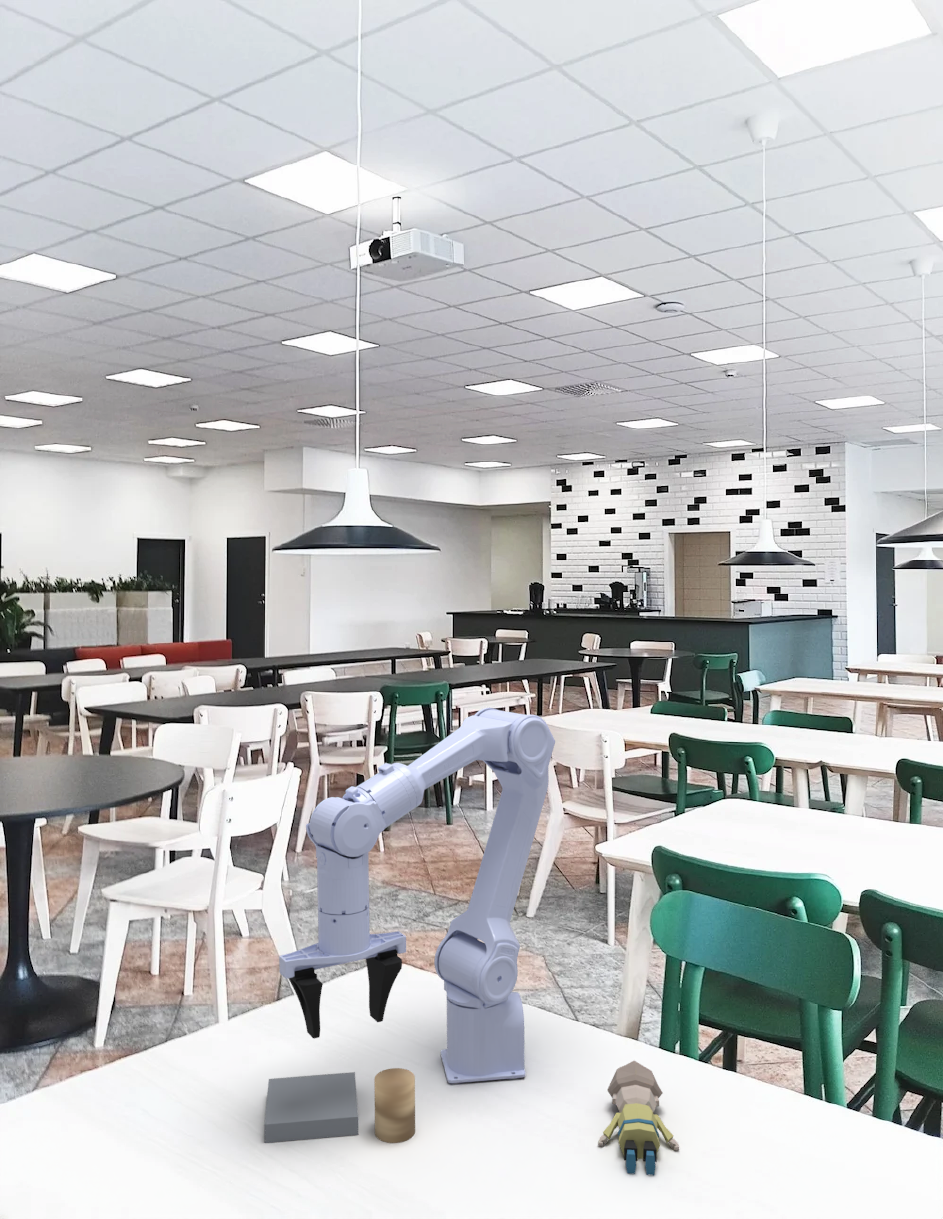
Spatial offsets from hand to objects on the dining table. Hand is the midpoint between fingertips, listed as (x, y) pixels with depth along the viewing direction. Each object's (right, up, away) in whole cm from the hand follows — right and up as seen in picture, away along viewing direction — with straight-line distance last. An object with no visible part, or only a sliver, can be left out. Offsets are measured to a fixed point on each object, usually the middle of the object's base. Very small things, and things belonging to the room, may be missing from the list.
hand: (345, 1026), depth 115 cm
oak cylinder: (+6, -10, -3) cm, 12 cm away
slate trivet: (-4, -10, +1) cm, 11 cm away
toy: (+32, -11, -4) cm, 34 cm away
